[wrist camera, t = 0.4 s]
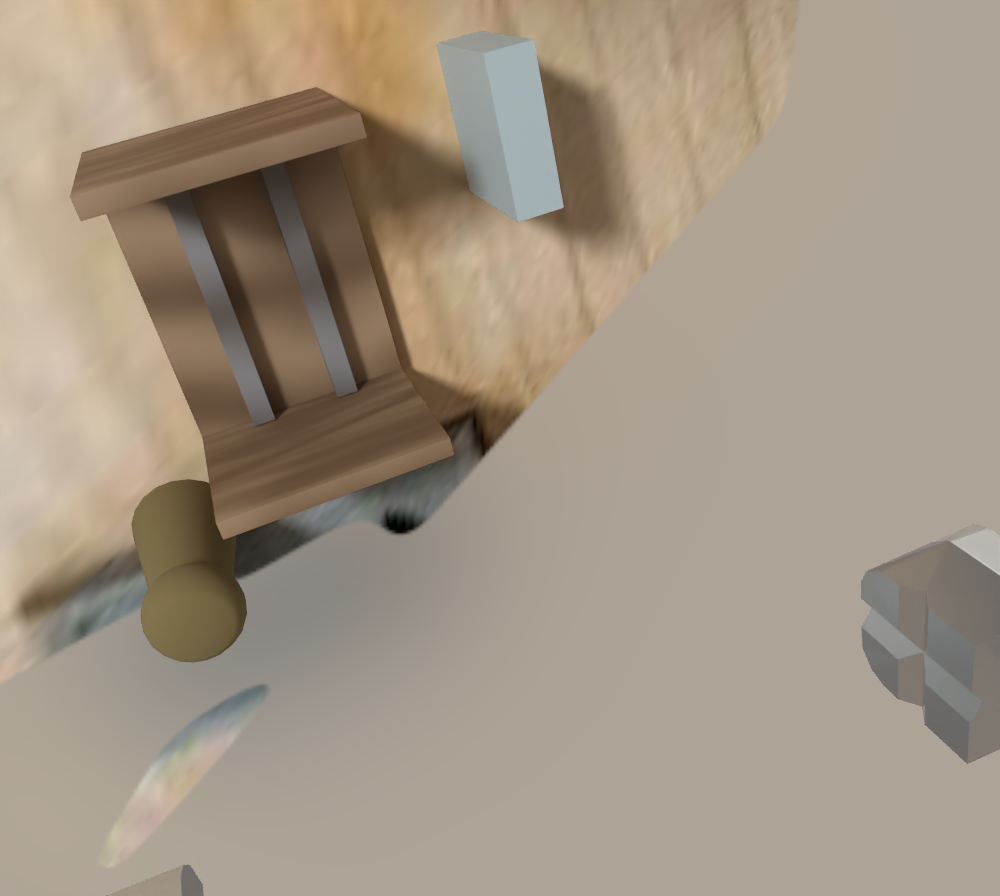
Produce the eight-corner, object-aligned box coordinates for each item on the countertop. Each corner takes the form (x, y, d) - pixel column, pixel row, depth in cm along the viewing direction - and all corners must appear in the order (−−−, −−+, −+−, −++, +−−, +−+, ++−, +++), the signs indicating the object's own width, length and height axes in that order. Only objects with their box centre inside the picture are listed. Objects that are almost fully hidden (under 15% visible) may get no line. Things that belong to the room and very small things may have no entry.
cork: (241, 480, 56) (263, 578, 47) (234, 566, 59) (253, 677, 49) (133, 478, 54) (133, 582, 45) (130, 568, 56) (130, 685, 47)
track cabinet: (82, 152, 46) (69, 196, 37) (316, 87, 48) (360, 113, 39) (207, 444, 55) (223, 540, 45) (401, 377, 57) (454, 454, 48)
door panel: (435, 43, 50) (483, 53, 43) (479, 30, 50) (533, 39, 43) (469, 191, 54) (518, 222, 47) (510, 179, 54) (563, 207, 47)
